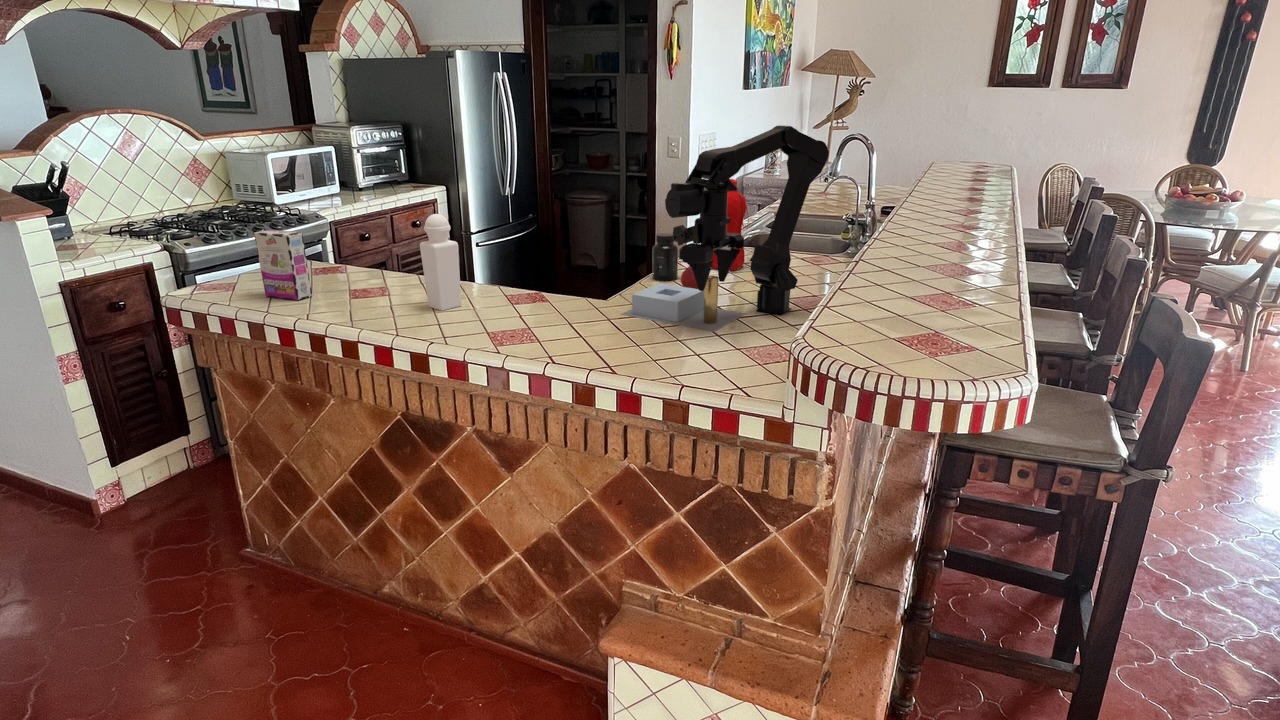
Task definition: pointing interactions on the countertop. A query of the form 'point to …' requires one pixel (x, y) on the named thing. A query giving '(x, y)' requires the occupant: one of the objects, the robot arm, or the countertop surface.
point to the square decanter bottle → (440, 264)
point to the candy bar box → (283, 264)
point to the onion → (688, 278)
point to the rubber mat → (697, 319)
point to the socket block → (668, 302)
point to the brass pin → (711, 300)
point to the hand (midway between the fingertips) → (711, 285)
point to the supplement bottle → (665, 258)
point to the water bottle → (735, 223)
